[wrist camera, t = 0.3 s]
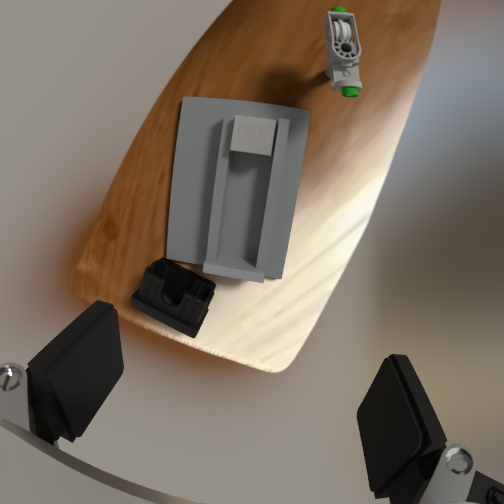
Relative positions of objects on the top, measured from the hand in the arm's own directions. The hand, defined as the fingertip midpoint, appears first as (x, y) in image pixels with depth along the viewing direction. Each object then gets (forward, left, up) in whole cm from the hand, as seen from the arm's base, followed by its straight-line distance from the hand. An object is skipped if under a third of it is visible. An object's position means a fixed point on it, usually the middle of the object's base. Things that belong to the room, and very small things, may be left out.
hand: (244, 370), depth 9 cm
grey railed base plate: (-2, -5, -30) cm, 30 cm away
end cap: (+14, -11, -30) cm, 35 cm away
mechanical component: (-19, +5, -30) cm, 36 cm away
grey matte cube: (-9, -3, -28) cm, 30 cm away
